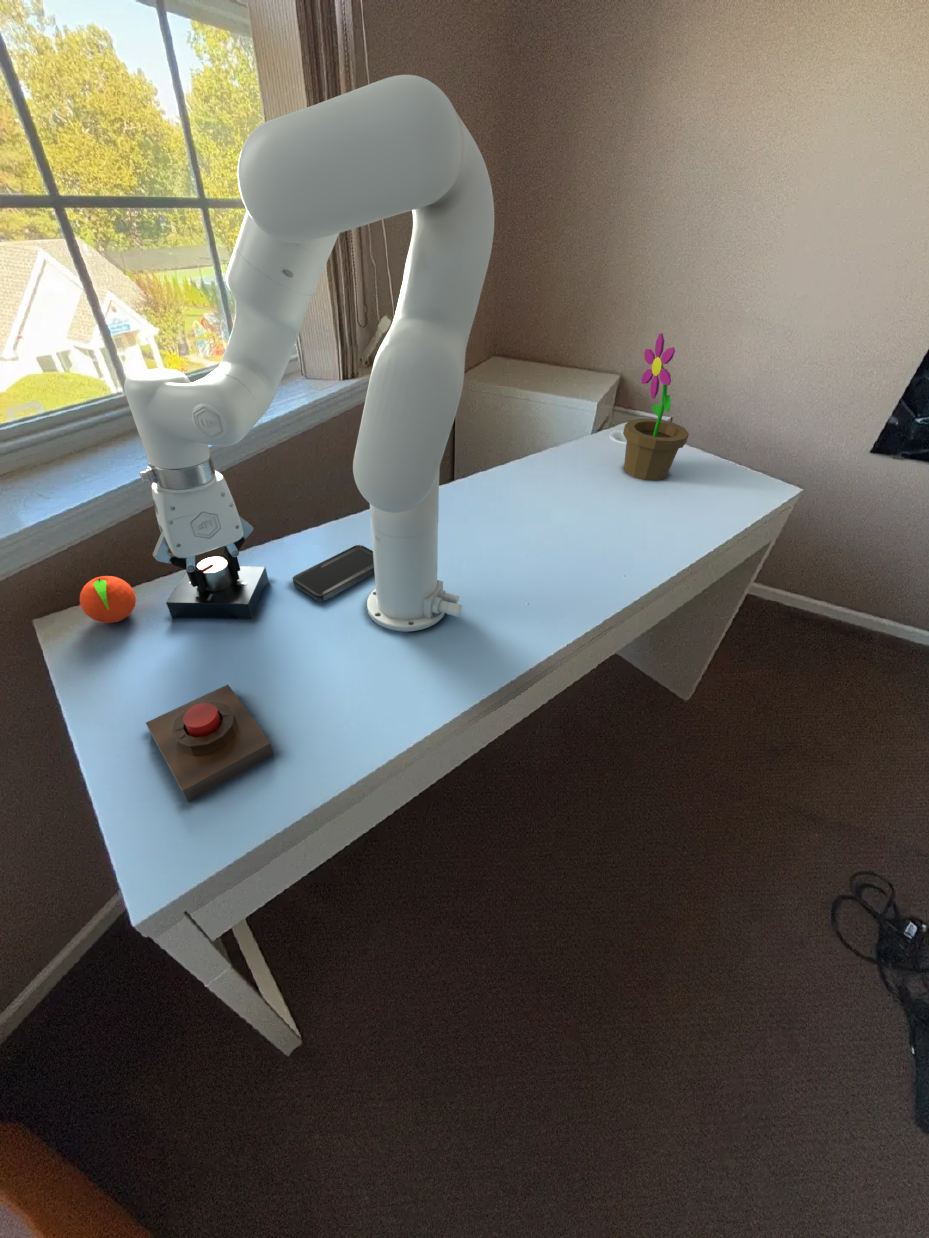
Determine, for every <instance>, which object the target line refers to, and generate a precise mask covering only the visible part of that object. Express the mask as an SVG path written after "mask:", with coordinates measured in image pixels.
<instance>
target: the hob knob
mask: <svg viewBox="0 0 929 1238" xmlns="http://www.w3.org/2000/svg"><path fill="white" fill-rule="evenodd" d="M196 565H197V567H198V568H199V569H200V571H201V574H202V577H203V580H204V584H205V587H206V590H207V591H211V592H217V591H222V590H225V589H227V588H228V587H230V586H231V585H232V583H233V579H232V576H231V572H230V568H229V565H228V561H227V560H226V559H225V558H223V556H211V557H207V558H204V559H202V560H201V561H199V562H198V563H197V564H196Z"/></svg>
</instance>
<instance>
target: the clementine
mask: <svg viewBox="0 0 929 1238" xmlns="http://www.w3.org/2000/svg"><path fill="white" fill-rule="evenodd" d="M136 602H137V597H136V592H135V591H134V589H133V588H132V586H131V585H130V584H129V583H128V582H127V581H125V580H123V578H120V577H118V576H112V575H101V576H97V577H95V578H92V579H91V580H89V581H88V582H87V583H86V584H85V585H83V587H82V589H81V591H80V593H79V604H80V607H81V609H82V611H83V613H85V615H86V616H87V617H89V618H90V619H91V620H93V621H96V622H99V623H102V624H113V623H118V622H121V621H123V620H125V619H126V618H128V617H129V616H130V615H131V614H132V613H133V611H134V609H135V607H136Z"/></svg>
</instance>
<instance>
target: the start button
mask: <svg viewBox="0 0 929 1238" xmlns="http://www.w3.org/2000/svg"><path fill="white" fill-rule="evenodd" d="M183 721H184V724H185V726H186V728H187V731H188V733H189V734H190V735H192V736H194V737H204V736H207V735H209V734H211V733H213V732H215V731H216V730H217V729H218V728H219V726H220V723H221V719H220V716H219V713H218V711H217V708H216V707H215V706H214V705H212V704H209V703H202V704H198V705H195V706H193V707H191V708H190V709H189V710H188V711H187V712H186V713H185V715H184V717H183Z"/></svg>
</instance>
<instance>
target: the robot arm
mask: <svg viewBox="0 0 929 1238" xmlns="http://www.w3.org/2000/svg"><path fill="white" fill-rule="evenodd" d="M236 176H237V184H238V191H239V194H240V197H241V200H242V203H243V205H244V207H245V210H246V212H245V215H244V218H243V221H242V224H241V228H240V230H239V234H238V237H237V238H236V243H235V245H234V249H233V252H232V254H231V258H230V260H229V264H228V265H227V270H226V274H225V282H226V286H227V288H228V290H229V292H230V294H231V296H232V299H233V300H234V307H235V309H234V310H235V312H234V319H233V325H232V329H231V332H230V336H229V338H228V341H227V343H226V347H225V349H224V352H223V355H222V357H221V360H220V363H219V365H218V366H217V367H216V368H215V369H214V370H212V371H211V372H210V373H208V374H207V375H205V376H204V377H202V378H199V379H197V380H195V381H193V382H191V380H190V379H189V377H188V376H187V375H186V374H185V373H183V372H181V371H179V370H176V369H171V368H151V369H144V370H140V371H137V372H134V373H132V374H130V375H129V376H127V377H126V378H125V381H124V384H123V391H124V393H125V398H126V401H127V403H128V406H129V409H130V412H131V414H132V417H133V421H134V424H135V426H136V429H137V433H138V436H139V438H140V441H141V444H142V447H143V450H144V453H145V456H146V458H147V459H146V460H147V462H146V463H147V465H148V466H147V468H146V469H144V470H143V471H139V472H138V473H139V476H140V480H141V481H142V482H143V483H148V482H150V483H151V482H152V484H151V494H152V502H153V507H154V511H155V517H156V520H157V524H158V528H159V531H160V535H159V538H158V540H157V542H156V545H155V547H154V549H153V552H152V557H153V559H154V560H155V561H157V562H158V563H159V562H160V563H164V564H167V565H168V564H170V565H173V566H174V567H177V568H180V569H183V570H185V573H186V572H187V574H188V577H189V580H190V583H191V585H192V586H193V587H196V586H197V587H198V588H199V590H200V591H201V592H202V593H203V592H206V587H205V584H204V580H203V577H202V574H201V571H200V569H199V568H198V567H197V566H196V565H197V564H196V556H198V555H201V554H204V553H208V552H211V551H213V550H217V549H219V548H222V547H223V550H222V552H221V556H222V558H225V559H226V560H227V561H228V565H229V568H230V572H231V576H232V578H233V579H234V580H238V579H240V578H239V574H238V571H240V566H241V565H240V563H239V558H238V557H239V555H240V550H241V548H242V547H243V545H244V543H245V542H246V539H247V538H248V537H249V536H250V535H251V534H252V533H253V531H254V528H255V527H253V526H252V525H251V524H250V523H249V522H248V521H247V520H245V519H244V518H243V517H241V516H240V515H239V512H238V509H237V506H236V503H235V500H234V498H233V495H232V493H231V490H230V488H229V485H228V484H227V481H226V479H225V476H224V475H223V474H222V473H221V472H220V471H217V470H215V466H214V462H213V458H212V453H211V451H210V446H214V447H221V448H223V447H224V448H225V447H231V446H235V445H236V444H239V443H240V442H241V441H242V440H243V439H244V438H245V437H246V436H247V435H248V434H249V432H251V430H252V429H253V428H254V426H255V425H256V424H257V423H258V422H259V420H261V418H262V417H263V416H264V415H265V414H266V413H267V411H268V410H269V409H270V406H271V404H272V402H273V400H274V399H275V397H276V393H277V391H278V389H279V387H280V385H281V383H282V379H283V377H284V375H285V372H286V370H287V368H288V366H289V363H290V360H291V357H292V354H293V353H294V349H295V345H296V342H297V339H298V337H299V336H300V333H301V330H302V325H303V321H304V319H305V316H306V314H307V312H308V309H309V307H310V305H311V301H312V299H313V297H314V294H315V292H316V289H317V286H318V284H319V282H320V280H321V277H322V275H323V273H324V270H325V268H326V266H327V263H328V261H329V258H330V256H331V254H332V252H333V249H334V248H335V247H334V246H335V244H336V242H337V239H338V237H339V236H340V234H341V233H345V232H347V231H350V230H354V229H357V228H361V227H363V226H367V225H371V224H374V223H376V222H379V221H382V220H386V219H388V218H391V217H392V218H393V217H394V216H398V215H402V214H405V213H407V212H408V213H409V212H410V211H411V212H412V222H413V223H412V232H411V238H410V244H409V247H408V252H407V256H406V259H405V260H406V261H405V265H404V271H403V277H402V284H401V287H400V292H399V296H398V300H397V304H396V308H395V311H394V312H395V314H394V317H393V320H392V323H391V325H390V327H389V330H388V332H387V333H386V335H385V337H384V338H383V340H382V342H381V344H380V346H379V348H378V350H377V352H376V355H375V358H374V361H373V364H372V368H371V373H370V375H369V376H370V377H369V380H368V385H367V391H366V396H365V400H364V407H363V411H362V415H361V421H360V425H359V429H358V434H357V440H356V445H355V450H354V454H353V460H352V473H353V479H354V482H355V485H356V487H357V490H358V492H359V493H360V494H361V496H362V497H363V499H364V500H366V502H367V503H369V515H370V530H371V531H370V532H371V545H372V551H373V559H374V572H375V573H374V582H375V583H374V585H375V588H374V589H373V590H372V591H371V592H370V593H369V595H368V597H367V601H366V609H367V613H368V615H369V618H370V619H371V620H372V621H373V622H374V623H376V624H377V625H378V626H381V627H383V628H385V629H388V630H391V631H396V632H416V631H422V630H424V629H427V628H431V627H432V626H434V625H436V624H437V623H438V622H440V621H441V620H442V619H443V618H444V616H445V614H447V615H448V616H453V617H457V618H459V617H460V616H461V615H462V609H463V605H462V604H460V603H459V602H460V595H458V594H454V593H449V592H446V590H444V581H443V580H439V579H438V556H439V555H438V553H439V552H438V549H439V548H438V546H439V545H438V543H439V511H440V510H439V509H440V507H439V505H440V504H439V502H440V501H439V499H440V498H439V497H440V471H441V470H440V468H441V463H442V461H443V457H444V453H445V451H446V447H447V444H448V441H449V438H450V434H451V431H452V428H453V425H454V422H455V419H456V416H457V412H458V408H459V405H460V401H461V397H462V393H463V388H464V380H465V369H466V353H467V347H468V343H469V339H470V335H471V331H472V327H473V324H474V321H475V318H476V314H477V310H478V307H479V302H480V298H481V295H482V290H483V286H484V283H485V280H486V276H487V272H488V269H489V268H488V267H489V264H490V259H491V254H492V249H493V243H494V235H495V202H494V194H493V188H492V183H491V178H490V175H489V171H488V168H487V165H486V162H485V159H484V156H483V155H482V152H481V150H480V148H479V147H478V145H477V143H476V140H475V139H474V137H473V136H472V134H471V132H470V131H469V129H468V128H467V126H466V125H465V123H464V122H463V120H462V119H461V117H460V116H459V114H458V113H457V110H456V109H455V107H454V105H453V104H452V102H451V100H450V98H449V97H448V96H447V94H445V93H444V91H443V90H442V89H441V88H440V87H439V86H438V85H436V84H435V83H433V82H432V81H430V80H429V79H427V78H424V77H422V76H419V75H415V74H399V75H393V76H389V77H385V78H382V79H379V80H377V81H375V82H371V83H368V84H367V85H364V86H361V87H359V88H356V89H353V90H350V91H347V92H345V93H342V94H340V95H337V96H334V97H331V98H329V99H327V100H324V101H321V102H318V103H316V104H313V105H310V106H307V107H304V108H302V109H298V110H295V111H292V112H290V113H286V114H284V115H281V116H278V117H275V118H273V119H269V120H267V121H264V122H263V123H261V124H259V125H258V126H257V127H256V128H254V129H253V130H252V131H251V132H250V134H248V136H247V138H246V139H245V141H244V143H243V145H242V147H241V149H240V153H239V157H238V161H237V175H236ZM169 550H170V552H169Z"/></svg>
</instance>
